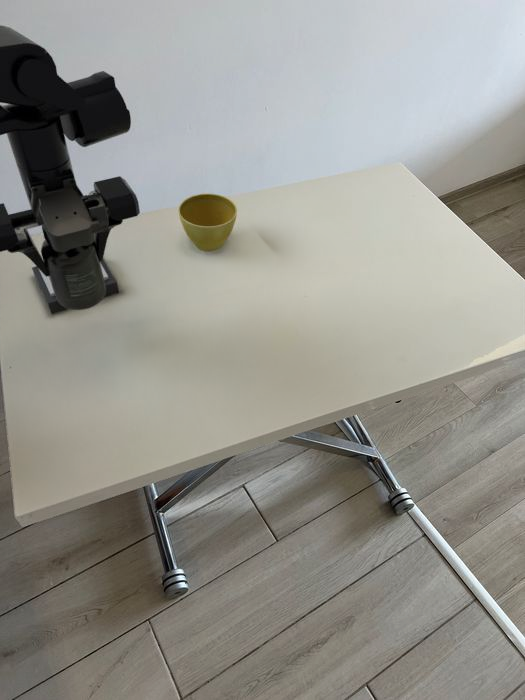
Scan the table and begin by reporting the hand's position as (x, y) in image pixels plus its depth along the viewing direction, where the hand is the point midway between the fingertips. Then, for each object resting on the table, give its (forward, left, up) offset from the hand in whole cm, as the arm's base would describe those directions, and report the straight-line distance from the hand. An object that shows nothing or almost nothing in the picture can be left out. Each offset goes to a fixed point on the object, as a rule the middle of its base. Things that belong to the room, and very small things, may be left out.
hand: (73, 266), depth 71 cm
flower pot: (+26, +12, -13) cm, 31 cm away
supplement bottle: (0, 0, -5) cm, 5 cm away
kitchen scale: (+1, +12, -13) cm, 18 cm away
